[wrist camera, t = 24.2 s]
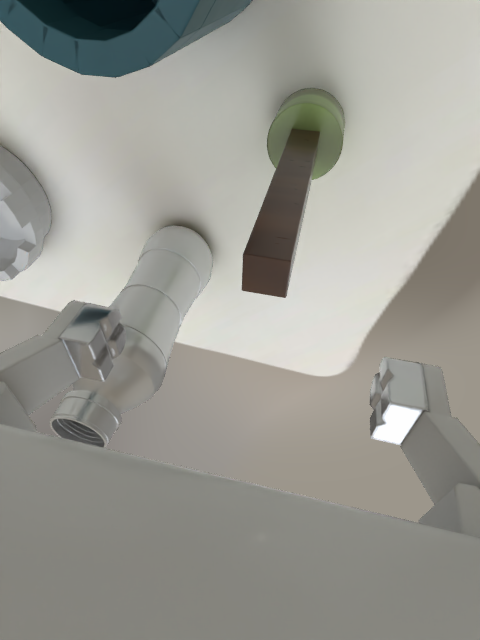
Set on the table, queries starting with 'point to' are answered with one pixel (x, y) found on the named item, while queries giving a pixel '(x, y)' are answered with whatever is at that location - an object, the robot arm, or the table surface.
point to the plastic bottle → (140, 335)
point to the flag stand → (20, 216)
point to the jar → (114, 30)
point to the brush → (291, 185)
